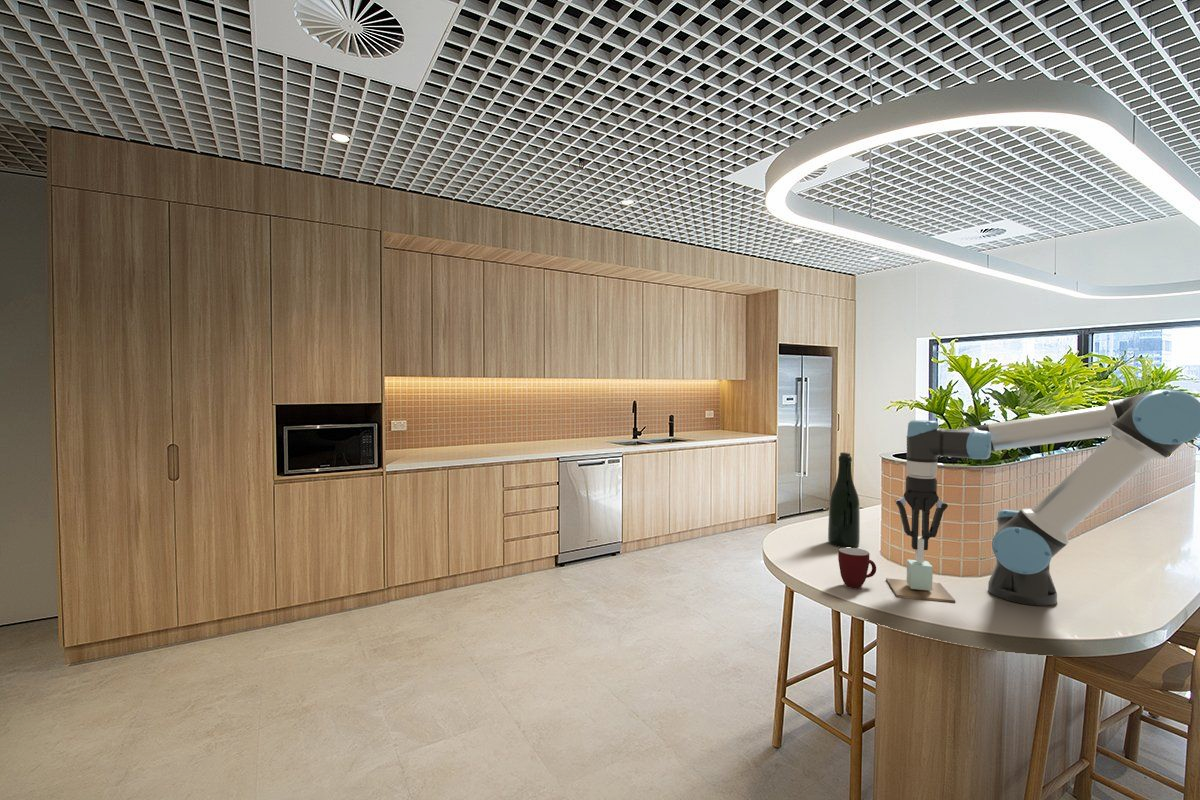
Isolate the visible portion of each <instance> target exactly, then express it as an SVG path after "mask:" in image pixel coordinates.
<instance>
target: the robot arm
mask: <svg viewBox="0 0 1200 800" xmlns="http://www.w3.org/2000/svg"><path fill="white" fill-rule="evenodd" d="M906 433H907V435H906V466H905V468H906V469H905V471H906V472H905V473H906V474H907V476H906V477H905V492H904V493H903V497H901V498H896V499H894V503H895V505H896V506H897V507H898V511H899V514H900V518H901V523H902V527H903V532H904V533H905V535H907V536H910V537H911V549H912V550H915V553H914V554H915V555H914V558H915V559H914V560H916V561H917V562H919V563H924V561H925V559H924V557H925V551H928V549H929V539H930V538H936V537H937V533H938V530H939V527H940V524H941V520H942V517H943V515H944V514H943V513H944V512H945V510H946V509H948V504H947V503H946V502H944V501H942V500H940V498H939V495H938V479H937V478H936V477H937V476H938V457H950V458H958V459H960V458H961V459H972V460H988V459H989V458H991V454H992V452H996V451H1002V450H1011V449H1018V448H1019V449H1020V448H1027V447H1035V446H1042V445H1049V444H1051V445H1052V444H1058V443H1065V442H1073V441H1081V440H1088V439H1098V438H1104V437H1108V438H1107V439H1106V440H1105V441H1104V442H1103V443H1102V444H1100V446H1099V447H1098V448H1096V450H1094V451H1092V453H1091V454H1090V455H1089V456H1088V457H1086V458H1085V460H1084V461H1082V462H1081V463H1080V464H1079V465H1078V466H1077V467H1076V468H1075V469H1074V470H1072V472H1070V474H1068V475H1067V476H1066V477H1065V478H1064V479H1063V480H1062V481H1061V482H1059V484H1058V485H1056V486H1055V487H1054V488H1053V489H1051V491H1050V492H1049V493H1048V494H1047V495H1046V496H1045V497H1043V499H1042V500H1040V501H1039V502H1038V503H1037V504H1036V505H1035V506H1034V507H1032V508H1030V507H1029V508H1026V507H1025V508H1022V509H1020V510H1015V509H1014V510H1013V509H1000V510H998V512H997V517H996V520H997V525H996V527H997V528H996V533H995V535H994V536H993V538H992V542H991V547H992V548H991V549H992V551H993V554H994V557H995V559H996V563H995V566H994V568H993V570H992V572H991V575H990V577H989V579H988V584H987V585H988V587H987V591H988V592H989V593H990V594H992V595H993V596H994V597H998V598H1000V599H1002V600H1005V601H1008V602H1009V601H1010V602H1013V603H1018V604H1023V605H1029V606H1042V607H1043V606H1044V607H1047V606H1053V605H1056V604H1057V603H1058V592H1057V589H1056V587H1055V584H1054V581H1053V579H1052V575H1051V571H1050V566H1051V565H1050V563H1051V561H1052V558H1054V556H1055V555H1057V554H1058V553H1059V552H1061V550H1063V548H1065V547H1066V546H1067V545H1068V544H1069V543H1070V542H1069V535H1068V534H1069V533H1070V532H1071V531H1073V529H1075V528H1076V527H1077V526H1078V525H1079V524H1080V523H1082V521H1084V520H1085V519H1086V518H1087V517H1088V516H1089V515H1091V514H1092V513H1093V512H1094V511H1095V510H1096V509H1098V508H1099V507H1100V506H1101V505H1102V504H1103V503H1104V502H1105V501H1106V500H1108V499H1109V498H1111V496H1112V495H1114V493H1116V492H1117V491H1118V490H1119V489H1120V488H1121V487H1123V485H1125V484H1126V483H1127V482H1128V481H1129V480H1130V479H1132V478H1133V477H1134V476H1135V475H1136V474H1137V473H1138V472H1140V471H1141V470H1142V469H1143V468H1144V467H1146V465H1147V464H1149V462H1151V461H1153V460H1166V459H1167V458H1168V457H1169V456H1170V455H1172V454H1173V452H1175V451H1176V450H1177V449H1178V448H1179V447H1181V446H1182V445H1183V444H1186V443H1188V442H1190V441H1192V440H1194V439H1195V438H1198V436H1199V435H1200V400H1198V399H1197V398H1195V396H1193V395H1192V394H1189V393H1186V392H1184V391H1183V390H1178V389H1173V388H1172V389H1170V388H1168V389H1167V388H1165V389H1154V390H1149V391H1146V392H1143V393H1140V394H1136V395H1132V396H1129V397H1125V398H1120V399H1115V400H1109V401H1108V402H1107V403H1106V404H1105V405H1102V406H1097V407H1096V406H1095V407H1089V408H1085V409H1077V410H1071V411H1070V410H1069V411H1064V412H1057V413H1052V414H1051V413H1050V414H1045V415H1039V416H1033V417H1032V416H1031V417H1025V418H1021V419H1020V418H1019V419H1012V420H1008V421H1007V420H1006V421H1000V422H999V421H998V422H994V423H993V422H992V423H987V424H980V425H974V426H973V425H970V426H965V427H962V428H960V429H958V428H957V429H956V428H955V429H953V428H951V429H950V428H941V427H940V426H939V422H938V421H936V420H921V419H917V420H916V419H915V420H911V421H909V422H908V424H907V432H906ZM906 503H907V504H908V505H909V507H910V508H911V525H910V524H909V523H910V522H909V519H908V515H907V514H908V513H907V510H906V508H905V506H906ZM934 506H935V507H936V509H935V511H934V514H933V517H932V521H931V525H930V513H931V510H932V508H933V507H934ZM920 511H921V536H919V528H920V527H919V521H920V518H919V517H920Z"/></svg>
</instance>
